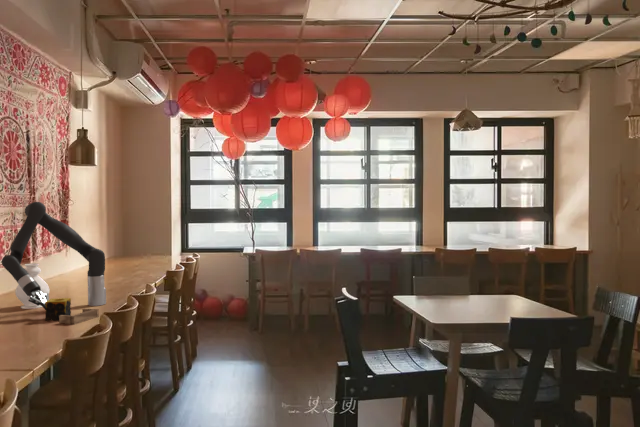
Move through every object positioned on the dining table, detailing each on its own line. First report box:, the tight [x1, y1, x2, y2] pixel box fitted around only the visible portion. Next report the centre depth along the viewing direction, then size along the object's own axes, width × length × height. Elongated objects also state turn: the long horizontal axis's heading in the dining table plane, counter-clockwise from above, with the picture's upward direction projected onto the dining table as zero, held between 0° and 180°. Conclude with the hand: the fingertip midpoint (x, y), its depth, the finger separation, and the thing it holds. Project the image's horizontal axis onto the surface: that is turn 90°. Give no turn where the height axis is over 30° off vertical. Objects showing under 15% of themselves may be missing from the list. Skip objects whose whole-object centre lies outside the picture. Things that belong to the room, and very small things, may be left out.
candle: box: [44, 297, 72, 322], centre depth 298 cm, size 10×10×10 cm
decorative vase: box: [15, 262, 51, 310], centre depth 332 cm, size 18×18×25 cm
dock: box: [58, 307, 100, 325], centre depth 294 cm, size 9×19×4 cm, turn 165°
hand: (48, 309), depth 299 cm, fingers closed
